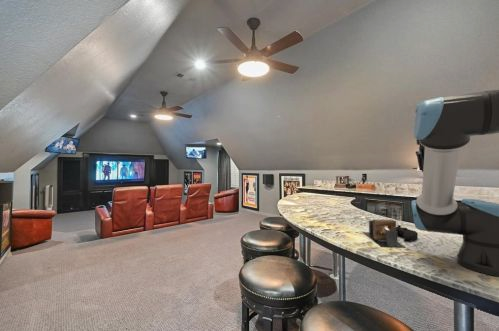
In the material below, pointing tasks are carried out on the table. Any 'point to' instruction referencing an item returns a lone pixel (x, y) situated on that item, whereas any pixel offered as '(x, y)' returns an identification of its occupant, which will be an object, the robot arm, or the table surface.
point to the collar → (377, 228)
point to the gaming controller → (407, 233)
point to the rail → (390, 236)
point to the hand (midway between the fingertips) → (427, 185)
